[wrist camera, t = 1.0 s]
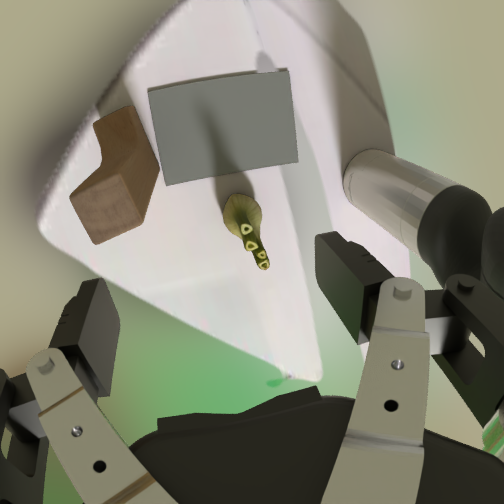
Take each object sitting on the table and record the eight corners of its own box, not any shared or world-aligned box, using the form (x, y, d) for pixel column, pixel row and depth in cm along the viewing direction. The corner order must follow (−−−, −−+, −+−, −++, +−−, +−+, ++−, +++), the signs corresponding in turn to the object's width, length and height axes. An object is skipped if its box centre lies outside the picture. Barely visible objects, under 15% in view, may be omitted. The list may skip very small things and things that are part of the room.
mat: (287, 71, 35) (288, 70, 35) (297, 161, 41) (298, 162, 41) (148, 91, 33) (147, 91, 33) (166, 185, 39) (166, 186, 39)
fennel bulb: (221, 188, 41) (235, 224, 30) (259, 187, 42) (285, 222, 31) (220, 230, 44) (233, 277, 33) (257, 229, 44) (280, 274, 34)
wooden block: (100, 120, 34) (40, 142, 18) (133, 104, 34) (92, 111, 18) (129, 184, 38) (93, 248, 22) (161, 169, 38) (144, 225, 23)
